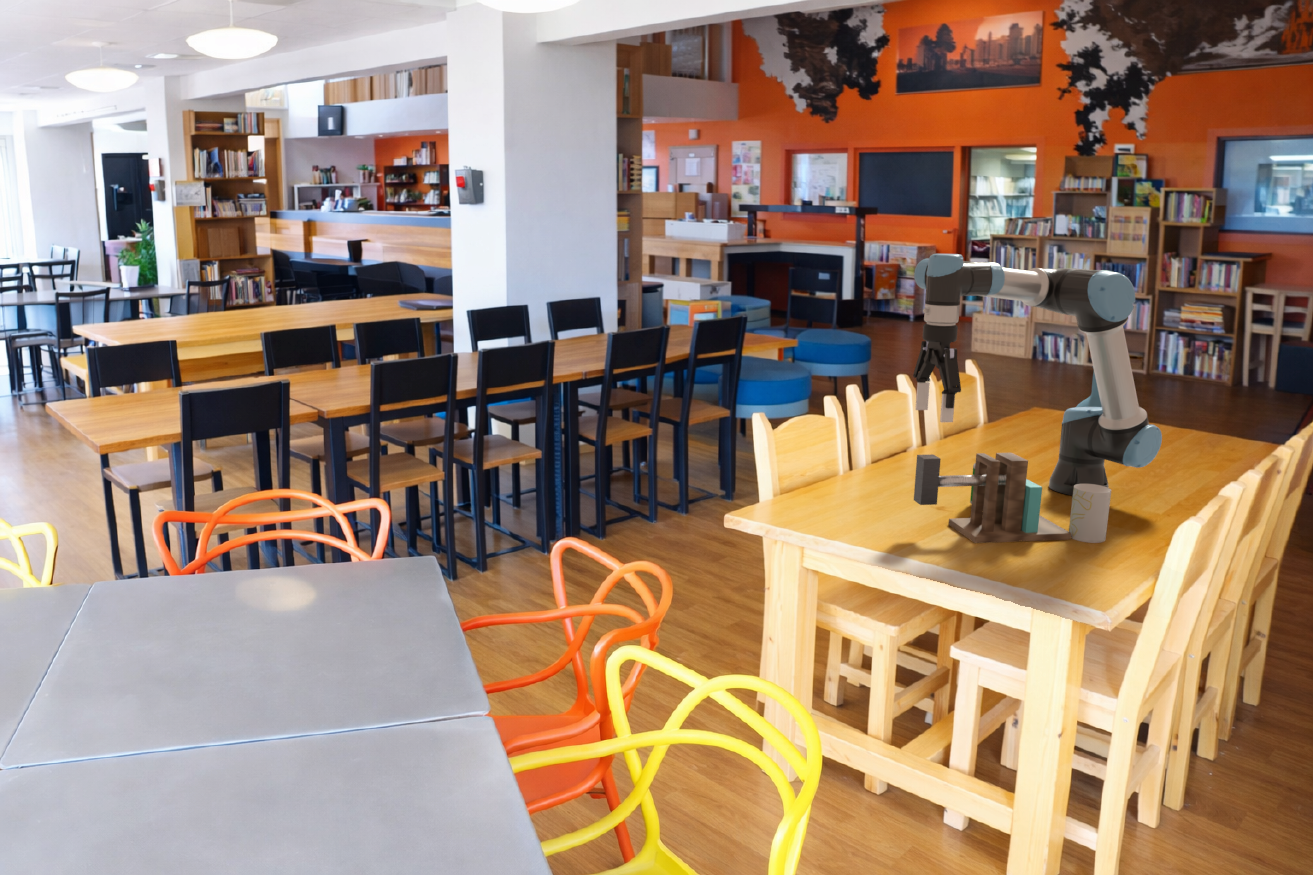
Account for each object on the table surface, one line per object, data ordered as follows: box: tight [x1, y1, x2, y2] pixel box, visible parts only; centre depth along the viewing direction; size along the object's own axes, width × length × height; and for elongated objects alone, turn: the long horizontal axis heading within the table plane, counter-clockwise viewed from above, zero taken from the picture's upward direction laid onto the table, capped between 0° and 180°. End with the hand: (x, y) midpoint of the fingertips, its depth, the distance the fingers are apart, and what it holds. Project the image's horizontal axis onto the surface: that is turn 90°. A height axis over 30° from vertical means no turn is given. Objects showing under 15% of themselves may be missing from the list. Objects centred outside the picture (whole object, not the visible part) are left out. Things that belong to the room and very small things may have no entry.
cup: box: [1068, 484, 1112, 544], centre depth 245 cm, size 8×8×12 cm
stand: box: [948, 452, 1072, 544], centre depth 247 cm, size 24×14×18 cm, turn 100°
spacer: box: [1021, 478, 1043, 533], centre depth 248 cm, size 3×11×11 cm, turn 9°
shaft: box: [913, 453, 1006, 506], centre depth 244 cm, size 23×4×11 cm, turn 100°
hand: (933, 415), depth 239 cm, fingers open, 13 cm apart
